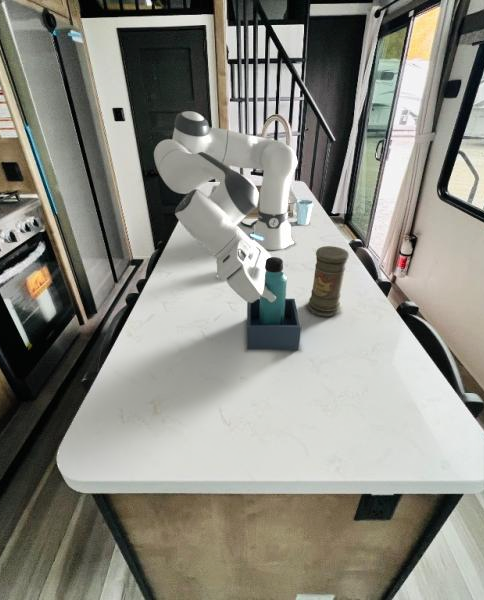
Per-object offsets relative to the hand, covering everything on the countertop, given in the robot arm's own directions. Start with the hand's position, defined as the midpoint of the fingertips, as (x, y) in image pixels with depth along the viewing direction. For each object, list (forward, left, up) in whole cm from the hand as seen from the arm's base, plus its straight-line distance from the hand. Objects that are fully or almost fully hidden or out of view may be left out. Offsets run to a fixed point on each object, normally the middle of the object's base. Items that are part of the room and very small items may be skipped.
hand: (275, 292), depth 77 cm
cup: (-87, +20, -13) cm, 90 cm away
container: (-12, +15, -13) cm, 24 cm away
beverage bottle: (0, -1, -11) cm, 11 cm away
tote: (0, -1, -13) cm, 13 cm away
